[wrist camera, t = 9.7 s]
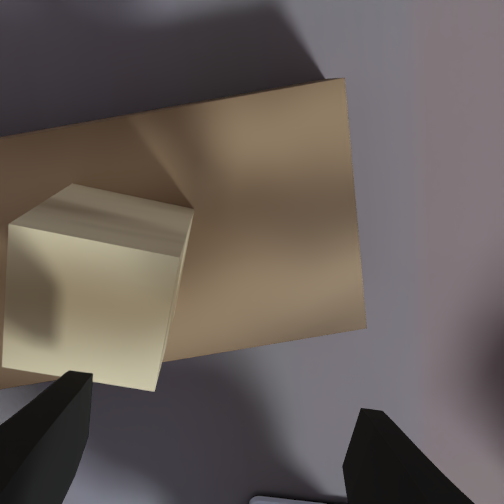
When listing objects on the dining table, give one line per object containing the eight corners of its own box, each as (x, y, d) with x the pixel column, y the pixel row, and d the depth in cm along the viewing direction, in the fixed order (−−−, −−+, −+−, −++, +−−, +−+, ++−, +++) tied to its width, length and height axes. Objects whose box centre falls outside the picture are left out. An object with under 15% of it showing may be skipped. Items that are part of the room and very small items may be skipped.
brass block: (344, 288, 23) (366, 328, 19) (-3, 346, 23) (-48, 397, 19) (323, 79, 19) (344, 77, 16) (-86, 151, 20) (-161, 167, 16)
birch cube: (174, 313, 18) (154, 391, 14) (61, 292, 18) (1, 366, 13) (194, 208, 17) (179, 257, 12) (72, 183, 16) (8, 223, 12)
